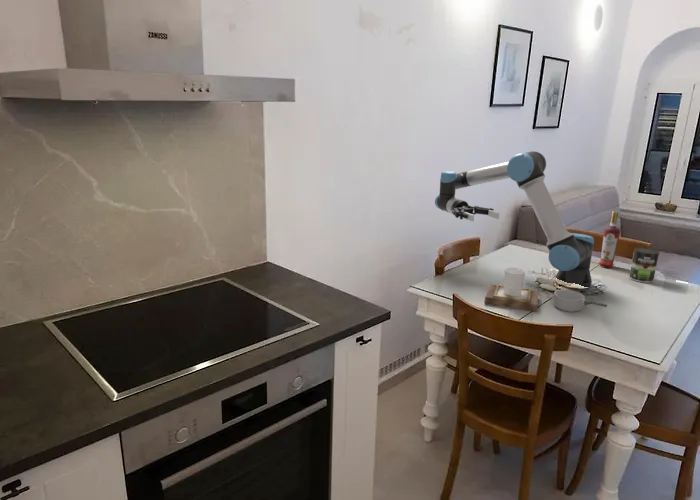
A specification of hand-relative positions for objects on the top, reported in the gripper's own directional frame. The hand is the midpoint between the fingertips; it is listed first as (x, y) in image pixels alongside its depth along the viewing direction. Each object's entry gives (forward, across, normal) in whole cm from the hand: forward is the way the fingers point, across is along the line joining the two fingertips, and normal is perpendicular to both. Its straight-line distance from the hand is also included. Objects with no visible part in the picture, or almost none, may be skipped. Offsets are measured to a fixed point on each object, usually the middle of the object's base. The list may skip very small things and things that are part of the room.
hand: (485, 217), depth 225 cm
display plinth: (+24, +2, -30) cm, 39 cm away
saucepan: (+42, -16, -30) cm, 54 cm away
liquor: (+5, -74, -30) cm, 80 cm away
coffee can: (+25, -74, -30) cm, 83 cm away
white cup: (+24, +2, -27) cm, 36 cm away
